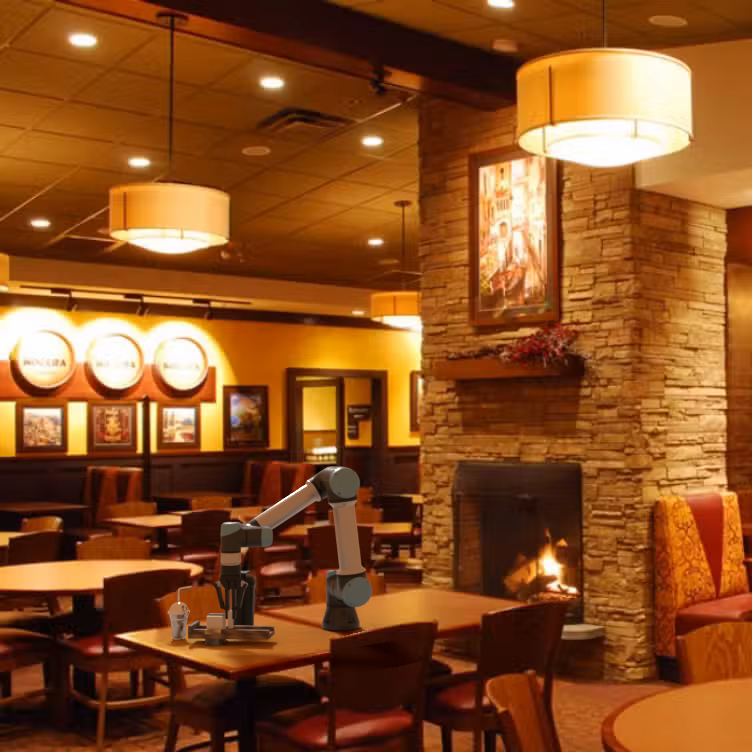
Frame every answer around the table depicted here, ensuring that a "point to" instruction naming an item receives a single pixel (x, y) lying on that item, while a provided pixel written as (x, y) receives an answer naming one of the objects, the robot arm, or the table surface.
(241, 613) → the water bottle
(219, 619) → the rider
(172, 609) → the cup with straw
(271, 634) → the brown wooden tray
